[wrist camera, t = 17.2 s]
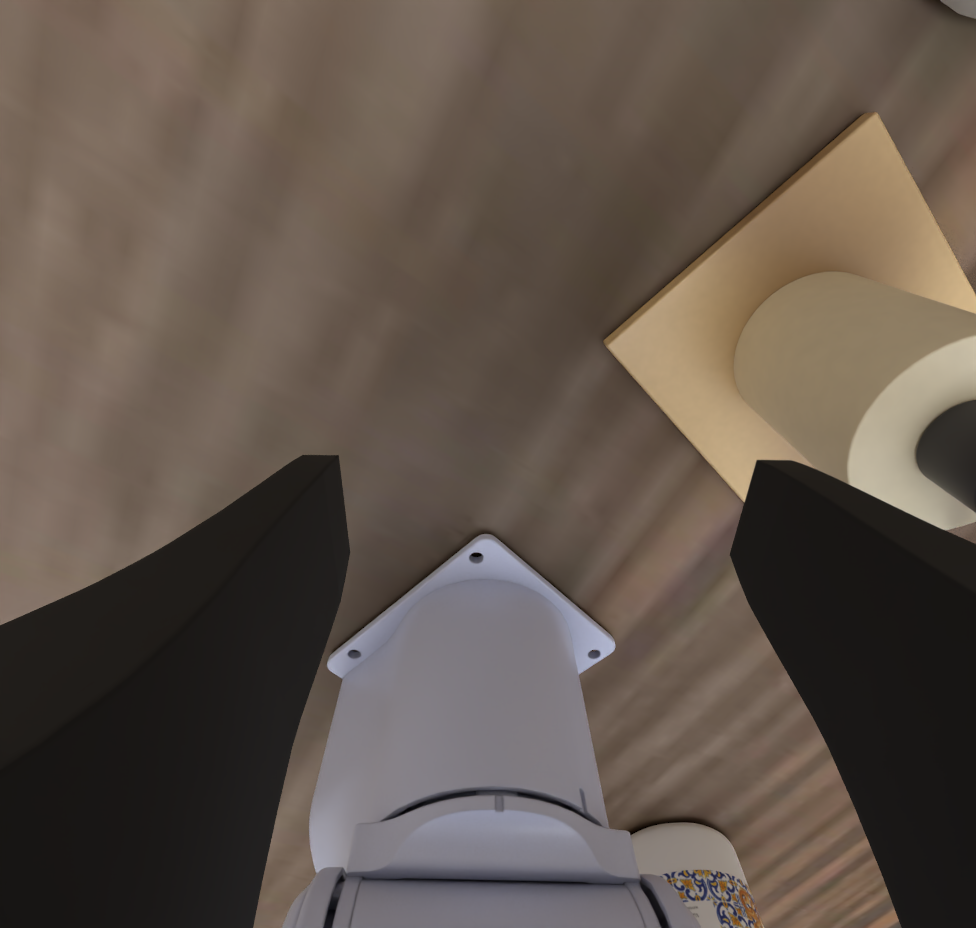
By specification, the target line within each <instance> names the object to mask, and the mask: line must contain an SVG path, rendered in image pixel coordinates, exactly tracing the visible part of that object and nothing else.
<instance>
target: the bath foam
mask: <svg viewBox="0 0 976 928" xmlns="http://www.w3.org/2000/svg"><path fill="white" fill-rule="evenodd" d="M631 840H632V844H633V848H634V853H635V857H636V861H637V866H638V870H639V874H653V875H656V876H659V877H662V878H664V879H665V880H666V881H667V882H668V883H669V884H670V885H671V886H672V887H673V888H674V889H675V891H676V892H677V894H678V895H679V896H680V898H681V899H682V901H683V903H684V904H685V905H686V906H687V908H688V909H689V910H690V911H691V912H692V914H693V915H694V916H695V918H696V919H697V921H698V922H699V924H700V926H701V928H764V926H763V923H762V920H761V918H760V915H759V912H758V910H757V907H756V904H755V902H754V899H753V896H752V894H751V891H750V889H749V887H748V884H747V881H746V879H745V876H744V873H743V871H742V868H741V865H740V863H739V860H738V857H737V855H736V852H735V850H734V848H733V846H732V844H731V843H730V841H729V840H728V839H727V838H726V837H725V836H724V835H723V834H721V833H720V832H718V831H717V830H715V829H713V828H710V827H708V826H705V825H701V824H696V823H687V822H679V823H665V824H658V825H654V826H651V827H647V828H645V829H642V830H640V831H638V832H636V833H634V834H632V835H631Z"/></svg>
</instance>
